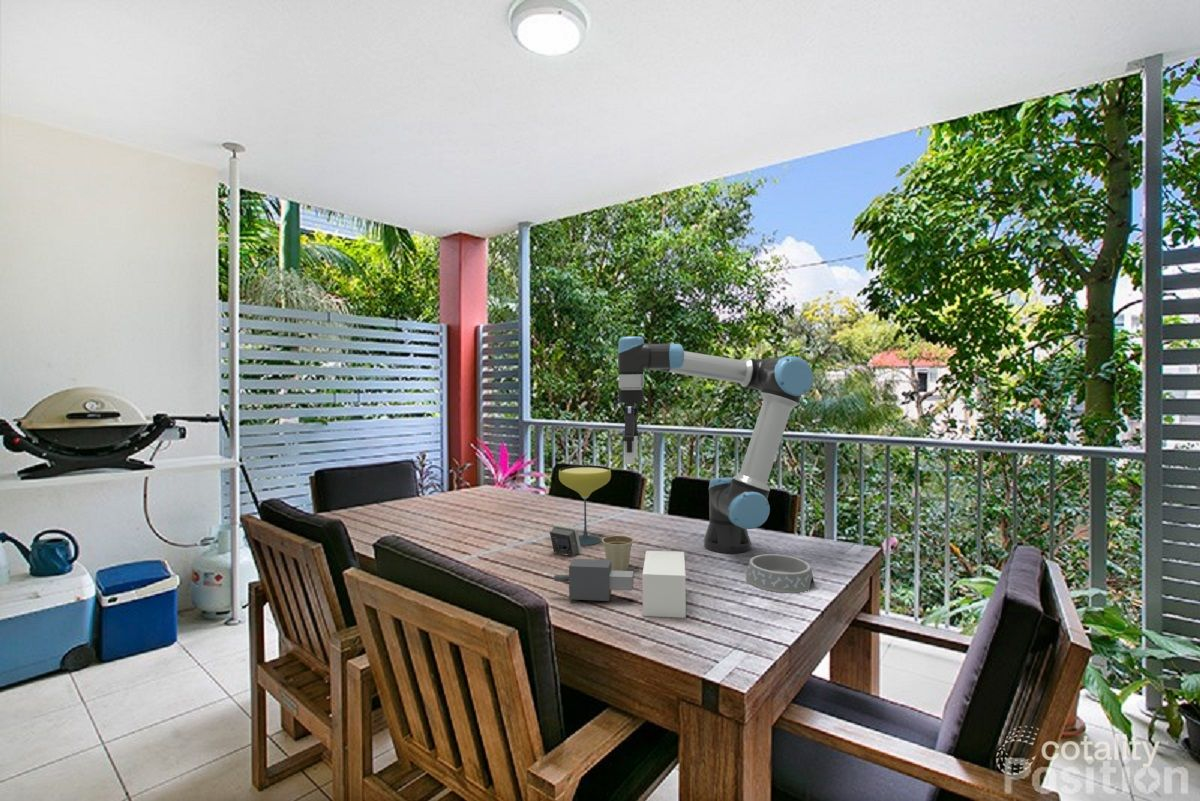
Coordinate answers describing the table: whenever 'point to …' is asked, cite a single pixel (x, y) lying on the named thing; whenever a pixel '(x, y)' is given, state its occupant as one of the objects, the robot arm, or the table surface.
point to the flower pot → (618, 551)
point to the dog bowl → (779, 573)
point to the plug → (595, 579)
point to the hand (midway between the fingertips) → (631, 460)
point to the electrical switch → (565, 540)
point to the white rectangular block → (664, 584)
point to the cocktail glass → (585, 488)
